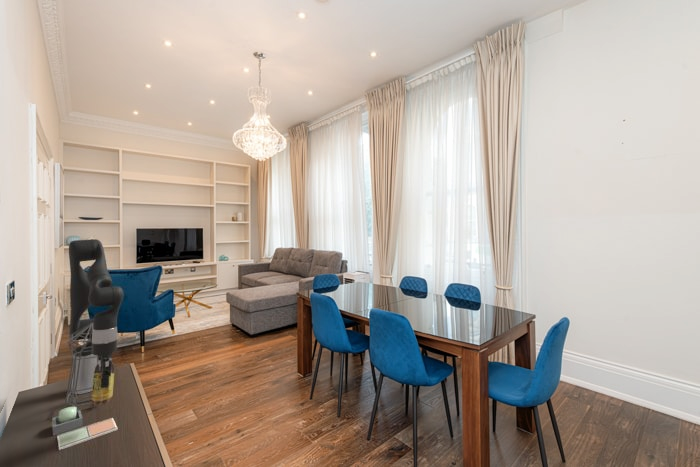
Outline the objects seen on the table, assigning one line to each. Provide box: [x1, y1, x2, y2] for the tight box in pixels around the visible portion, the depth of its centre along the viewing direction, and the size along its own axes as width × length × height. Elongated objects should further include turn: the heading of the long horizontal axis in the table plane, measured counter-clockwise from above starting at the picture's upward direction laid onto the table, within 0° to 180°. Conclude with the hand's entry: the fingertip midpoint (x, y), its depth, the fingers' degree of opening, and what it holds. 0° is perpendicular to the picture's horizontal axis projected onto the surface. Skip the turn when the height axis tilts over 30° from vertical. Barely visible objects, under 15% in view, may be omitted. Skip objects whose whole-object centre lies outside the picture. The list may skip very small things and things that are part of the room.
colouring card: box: [56, 417, 119, 451], centre depth 113 cm, size 10×16×1 cm, turn 136°
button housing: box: [51, 409, 84, 437], centre depth 117 cm, size 8×8×3 cm
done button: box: [58, 406, 77, 424], centre depth 117 cm, size 5×5×4 cm
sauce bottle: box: [91, 353, 115, 406], centre depth 117 cm, size 7×6×20 cm
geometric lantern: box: [64, 323, 99, 412], centre depth 133 cm, size 16×16×35 cm
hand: (103, 384), depth 116 cm, fingers closed on sauce bottle, 6 cm apart
